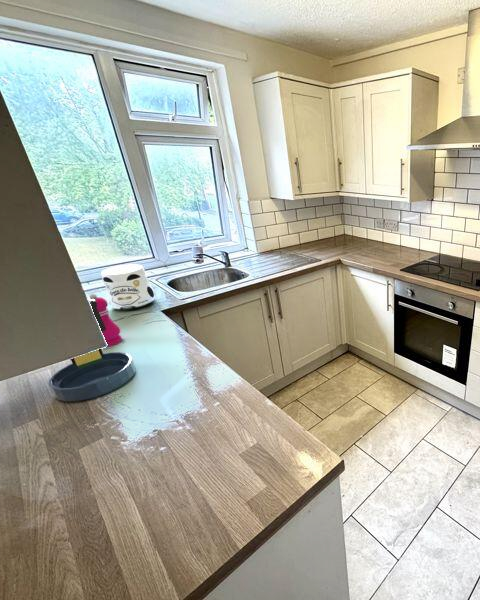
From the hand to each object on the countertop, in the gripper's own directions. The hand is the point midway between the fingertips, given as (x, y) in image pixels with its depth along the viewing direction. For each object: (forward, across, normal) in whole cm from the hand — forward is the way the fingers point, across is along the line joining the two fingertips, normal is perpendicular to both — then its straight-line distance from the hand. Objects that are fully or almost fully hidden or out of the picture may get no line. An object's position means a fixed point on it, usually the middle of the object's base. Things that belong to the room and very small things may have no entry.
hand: (87, 357), depth 99 cm
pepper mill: (+9, +8, +28) cm, 30 cm away
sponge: (+1, 0, 0) cm, 1 cm away
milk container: (+9, +23, +63) cm, 67 cm away
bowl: (+9, 0, 0) cm, 9 cm away
